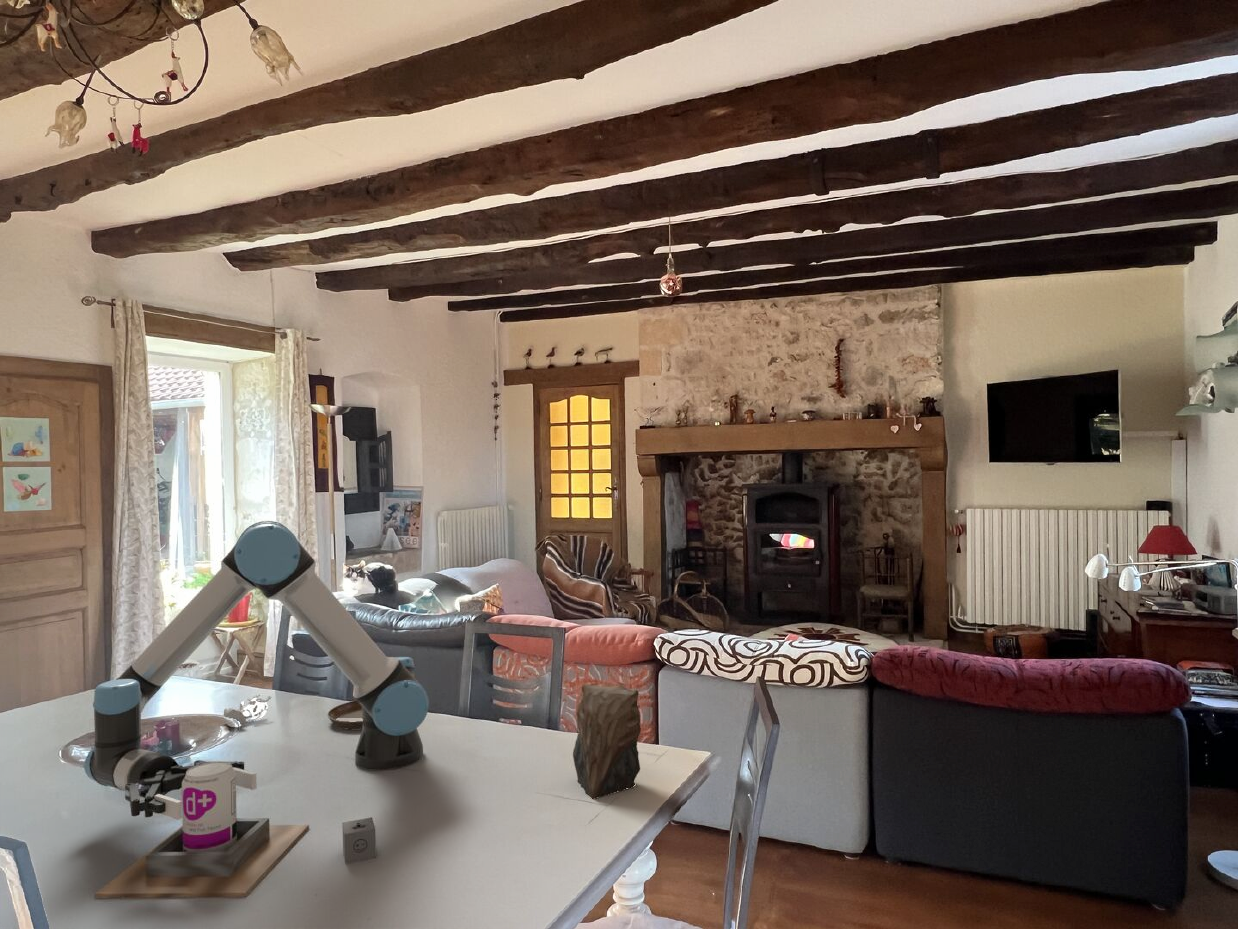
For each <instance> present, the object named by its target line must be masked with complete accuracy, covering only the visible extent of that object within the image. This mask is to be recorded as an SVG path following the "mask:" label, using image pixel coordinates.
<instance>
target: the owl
mask: <svg viewBox="0 0 1238 929" xmlns="http://www.w3.org/2000/svg"><path fill="white" fill-rule="evenodd" d="M581 691H582V696H581V698H580V701H579V702H580V703H579V704H578V705H577V710H576V717H577V718H576V723H577V728H578V733H577V736H576V740H575V744H574V748H573V752H572V757H573V763H574V767H575V772H576V775H577V777H576V778H577V780H576V782H577V783H578V784H579V785H580V787H581V788H582V789H583V790H584V792H585V795H587V796H588V795H589V796H590V797H591V798H592V799H591V798H590V797H589V796H588V797H589V798H590V799H591V800H595V799H594V798H596V799H598V798H597V797H599V798H602V797H606V796H609V795H608V794H610V795H612V794H614V792H616V793H618V792H617V791H620V792H622V791H625V790H627V789H626V788H631V787H633V786H634V785H635V783H636V782H635V781H636V778H637V776H638V774H639V773H640V771H641V765H640V759H639V751H638V740H639V738H640V735H641V733H642V732H641V729H642V727H641V713H640V710H639V706H638V699H639V698H638V697H639V690H636V689H635V690H631V689H630V688H627V687H626V686H624V685H613V686H609V685H606V686H601V685H600V686H598V685H595V684H586V683H585V684H582V686H581ZM633 788H634V787H633ZM624 789H625V790H624ZM631 789H632V788H631ZM611 793H612V794H611ZM605 795H606V796H605Z"/></svg>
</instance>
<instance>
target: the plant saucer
mask: <svg viewBox="0 0 1238 929" xmlns="http://www.w3.org/2000/svg"><path fill="white" fill-rule="evenodd" d="M327 718H328V719H329V720H330V721H331V723H333V724H334V725H335V726H337V727H338V726H339V728H340V727H342V728H341V729H344V728H348V729H347V730H352V729H361V730H362V727H363V721H356V722H349V721H339V720H336V719H337V718H362V706H361V704H360V703H359V702H358V701H357V700H356V699H355V700H352V701H348V702H344V703H342V704H339V705H336V706H335V707H333V708H331V709H330V710H329V711H328V712H327Z"/></svg>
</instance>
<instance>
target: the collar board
mask: <svg viewBox="0 0 1238 929" xmlns="http://www.w3.org/2000/svg"><path fill="white" fill-rule="evenodd" d="M309 829H310V825H309V824H270V817H243V818H242V817H241V818H239V817H237V842H236V843H235V844H234V845H233V846H232V847H231V848H230V849H229V850H228V851H226V852H183V825H181V826H180V827H179V828H177V829H176V830H175V831H174V832H172V833H171V834H170V835H168V836H167V837H166V838H165V839H163V840H162V841H161V842H159V843H158V844H157V845H155V847H152V848H151V849H150V850H149V851H147V853H146V854H144V855H143V856H141V857H140V858H139V859H138V860H136V861H135V862H134V863H132V864H131V865H130V866H128V867H127V868H126V869H125V870H123V871H122V872H120V874H118V875H117V876H116V877H115V878H113V879H112V880H111V881H109V882H108V883H107V884H106V885H104V886H103V887H102V888H100V889H99V890H98V891H96V892H95V893H94V898H95V897H116V898H115V899H118V898H117V897H120V898H119V899H123V898H122V897H125V898H124V899H127V897H128V899H133V898H134V899H139V898H144V899H145V898H146V899H148V898H150V899H151V898H152V899H153V898H154V899H155V898H156V899H158V898H165V899H166V898H246V897H247V896H248V895H249V894H250V893H251V892H252V891H253V889H254V888H255V887H257V885H258V884H259V883H260V882H261V881H262V880H263V879H264V878H265V877H266V876H267V874H268V873H269V872H270V871H271V870H272V869H273V868H274V867H275V866H276V865H277V864H278V863H279V861H280V860H281V859H282V858H283V857H285V855H286V854H287V853H288V852H289V851H290V850H291V849H292V848H293V846H294V845H296V843H297V842H298V841H299V840H300V839H301V838H302V837H303V836H304V835H305V834H306V833H307V831H308V830H309ZM129 897H130V898H129Z"/></svg>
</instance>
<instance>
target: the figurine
mask: <svg viewBox="0 0 1238 929" xmlns="http://www.w3.org/2000/svg"><path fill="white" fill-rule="evenodd" d="M260 696H261V694H257V695H255V696H253V697H252V698H246V699H247V701H249V702H248V705H247V706H245V704H244V703H245V701H241V703H240V704H239V709H237V708H233V707H231V708H224V711H223V716H225V717H229V718H233V719H236V720H237V721H239V722H240V724H241V725H242V727H244V726H245V725H246V723H247V720H246V719H249V720H250V719H253V720H251V721H250V722H252V721H254V720H255V719H259V718H261V719H262V718H263V717H264V716H265V715H266V714H267V712H268V708H269V705H268V701H269V700H271V698H272V696H270V695H267V698H266V699H263V698H260ZM243 706H245V707H244V708H243ZM223 716H222V717H223ZM259 720H260V719H259ZM255 721H256V720H255Z"/></svg>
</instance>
